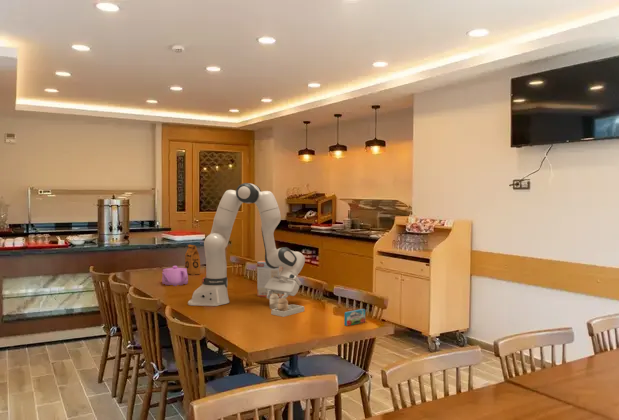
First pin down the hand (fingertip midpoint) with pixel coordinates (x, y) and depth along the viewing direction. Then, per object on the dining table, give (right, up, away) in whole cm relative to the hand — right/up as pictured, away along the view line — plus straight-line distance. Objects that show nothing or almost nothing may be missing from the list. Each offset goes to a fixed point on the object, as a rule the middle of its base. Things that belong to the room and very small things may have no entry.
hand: (274, 299), depth 268 cm
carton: (+8, -5, -11) cm, 14 cm away
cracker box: (-5, -4, +33) cm, 34 cm away
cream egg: (0, -5, 0) cm, 5 cm away
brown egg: (+5, -5, -14) cm, 16 cm away
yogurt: (+40, -6, -30) cm, 50 cm away
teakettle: (-72, -3, +73) cm, 103 cm away
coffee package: (-70, -2, +117) cm, 136 cm away
